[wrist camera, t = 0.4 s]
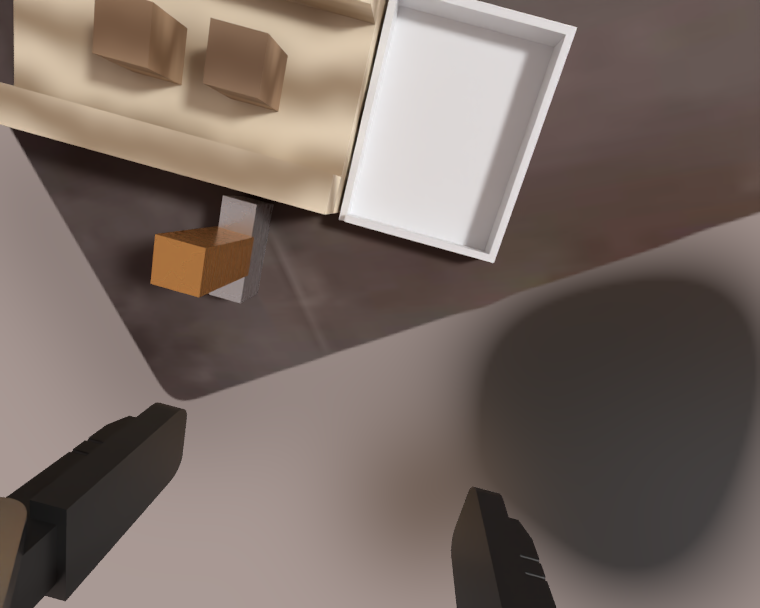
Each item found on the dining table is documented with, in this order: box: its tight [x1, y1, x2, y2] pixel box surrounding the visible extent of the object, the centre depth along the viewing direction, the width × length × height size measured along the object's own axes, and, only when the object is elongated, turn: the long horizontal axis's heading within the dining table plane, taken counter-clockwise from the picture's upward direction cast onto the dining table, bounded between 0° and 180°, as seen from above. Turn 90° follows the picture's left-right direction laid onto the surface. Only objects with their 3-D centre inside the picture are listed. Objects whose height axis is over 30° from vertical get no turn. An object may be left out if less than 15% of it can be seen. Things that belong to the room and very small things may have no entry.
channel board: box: [0, 0, 389, 215], centre depth 30 cm, size 17×28×7 cm, turn 75°
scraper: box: [151, 195, 273, 303], centre depth 31 cm, size 9×4×12 cm, turn 165°
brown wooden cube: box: [92, 0, 187, 85], centre depth 28 cm, size 4×4×4 cm
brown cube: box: [203, 18, 288, 111], centre depth 27 cm, size 4×4×4 cm
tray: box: [339, 0, 577, 263], centre depth 32 cm, size 18×14×3 cm
